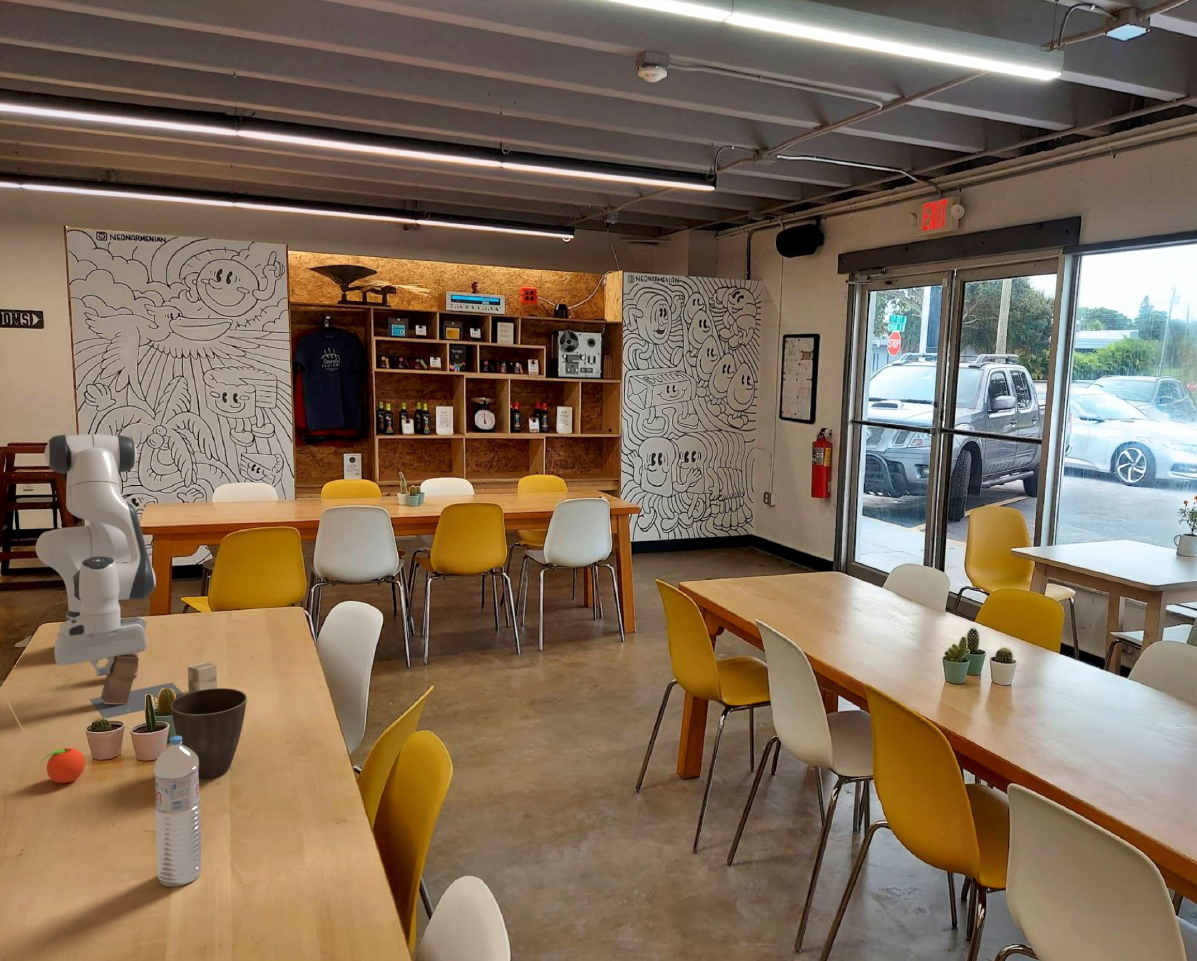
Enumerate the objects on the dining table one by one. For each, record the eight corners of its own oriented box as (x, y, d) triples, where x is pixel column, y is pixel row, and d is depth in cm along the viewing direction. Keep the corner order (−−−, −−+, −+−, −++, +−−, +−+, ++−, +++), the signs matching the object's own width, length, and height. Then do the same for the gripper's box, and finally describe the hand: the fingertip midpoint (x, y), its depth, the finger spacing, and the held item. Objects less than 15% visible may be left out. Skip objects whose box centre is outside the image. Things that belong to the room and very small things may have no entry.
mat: (89, 700, 222) (89, 699, 222) (172, 684, 236) (172, 682, 236) (104, 720, 210) (104, 718, 210) (190, 701, 224) (190, 699, 224)
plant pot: (263, 763, 190) (261, 694, 188) (212, 793, 176) (210, 718, 174) (209, 751, 195) (207, 684, 193) (156, 780, 181) (154, 707, 179)
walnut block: (100, 697, 220) (113, 652, 221) (121, 698, 223) (133, 653, 224) (105, 703, 216) (117, 657, 217) (126, 704, 220) (139, 658, 220)
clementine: (39, 792, 174) (37, 759, 173) (43, 778, 180) (41, 746, 179) (85, 785, 178) (83, 752, 177) (87, 771, 184) (85, 739, 183)
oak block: (188, 695, 228) (187, 666, 227) (206, 690, 232) (205, 661, 231) (199, 699, 225) (198, 670, 224) (217, 694, 229) (216, 665, 228)
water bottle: (167, 866, 150) (163, 729, 147) (208, 865, 151) (204, 729, 148) (150, 889, 143) (145, 746, 140) (193, 888, 144) (189, 746, 141)
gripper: (142, 612, 225) (144, 663, 227) (51, 625, 211) (54, 679, 213) (149, 618, 220) (151, 669, 222) (56, 631, 207) (59, 687, 208)
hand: (102, 674), depth 217 cm, fingers closed
